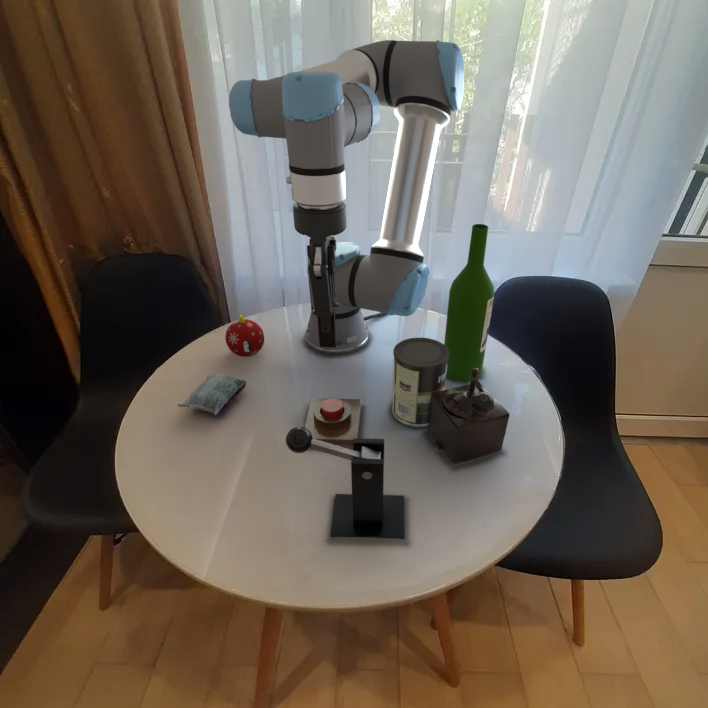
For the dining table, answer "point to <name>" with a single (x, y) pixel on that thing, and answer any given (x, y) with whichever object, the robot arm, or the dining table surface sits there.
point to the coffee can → (417, 378)
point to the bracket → (368, 500)
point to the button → (332, 408)
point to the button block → (334, 422)
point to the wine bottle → (469, 311)
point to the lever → (324, 446)
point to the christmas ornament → (244, 337)
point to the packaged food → (214, 393)
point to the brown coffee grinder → (467, 421)
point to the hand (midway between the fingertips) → (328, 344)
